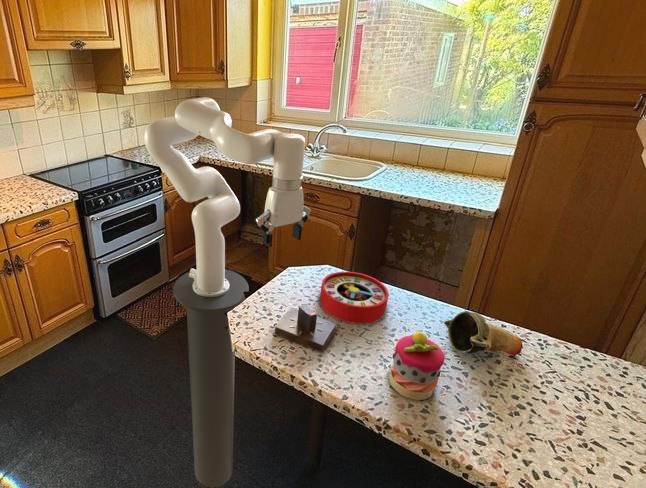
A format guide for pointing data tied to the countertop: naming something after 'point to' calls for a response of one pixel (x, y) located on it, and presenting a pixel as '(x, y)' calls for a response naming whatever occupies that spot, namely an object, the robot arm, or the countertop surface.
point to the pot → (480, 335)
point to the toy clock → (353, 297)
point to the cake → (416, 366)
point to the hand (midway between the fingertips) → (282, 241)
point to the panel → (305, 331)
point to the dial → (307, 317)
